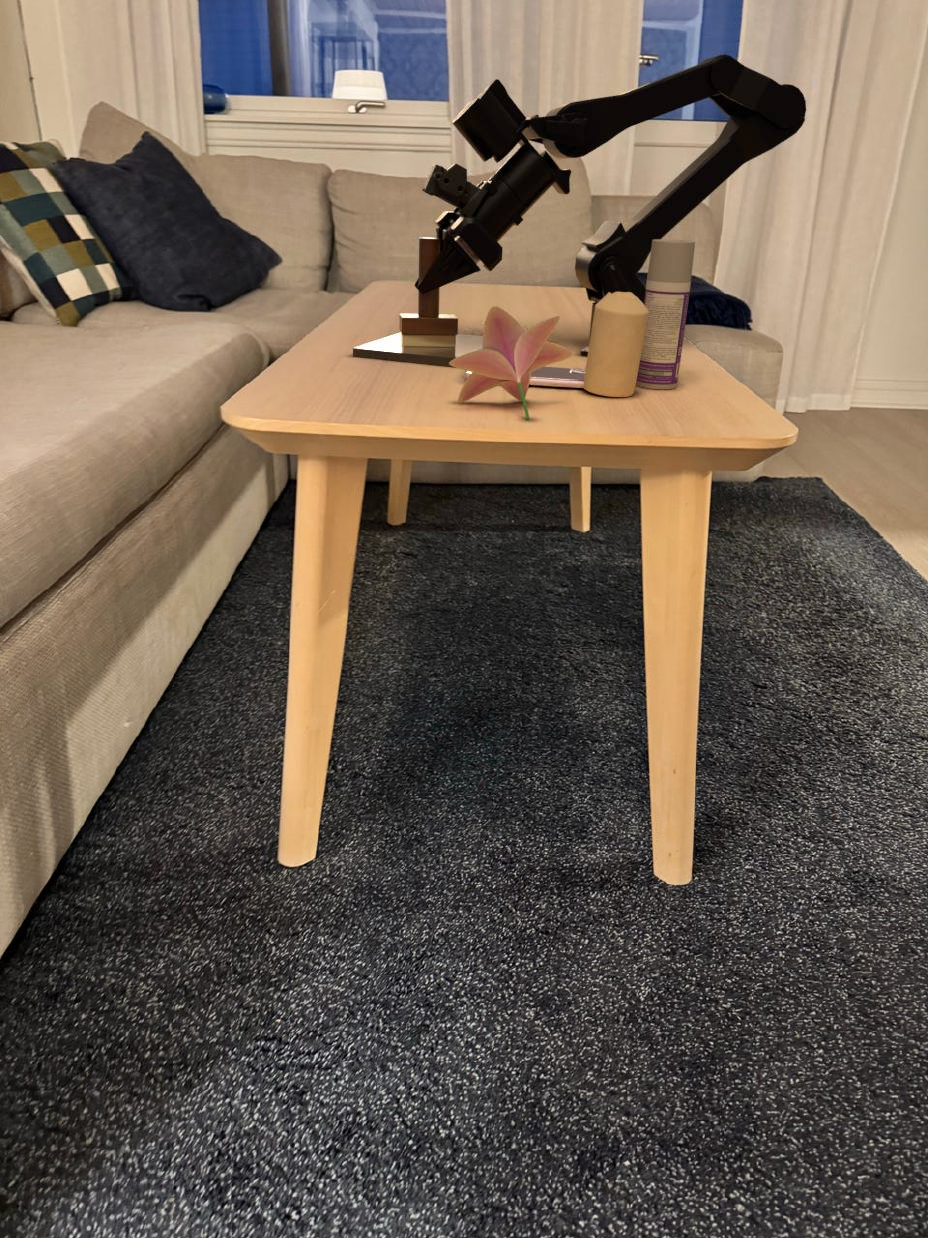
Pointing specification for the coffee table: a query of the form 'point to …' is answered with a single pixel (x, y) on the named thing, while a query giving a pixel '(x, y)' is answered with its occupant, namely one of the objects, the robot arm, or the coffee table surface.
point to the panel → (418, 350)
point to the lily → (508, 356)
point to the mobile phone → (555, 377)
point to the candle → (615, 345)
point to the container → (665, 312)
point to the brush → (428, 309)
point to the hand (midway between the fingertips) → (418, 289)
